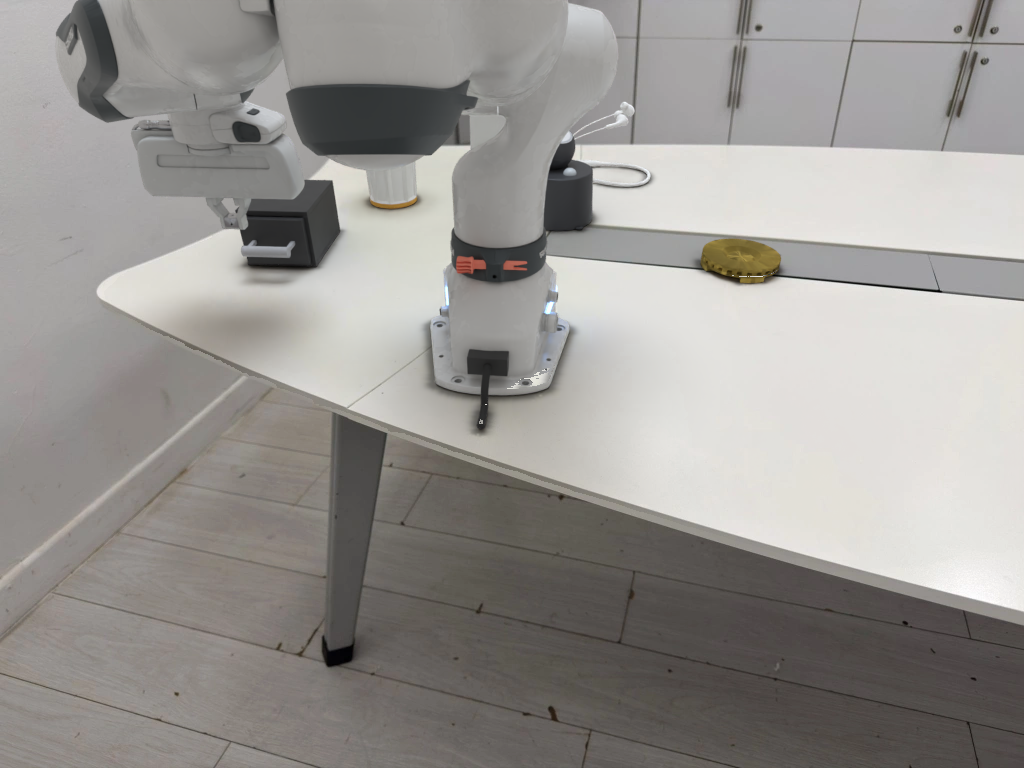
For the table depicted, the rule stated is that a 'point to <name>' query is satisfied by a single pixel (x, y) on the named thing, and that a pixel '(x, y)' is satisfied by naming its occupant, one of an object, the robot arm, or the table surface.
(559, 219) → the light fixture
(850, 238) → the table surface
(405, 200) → the cup
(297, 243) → the drawer
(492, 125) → the milk carton
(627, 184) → the earphone
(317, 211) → the cabinet
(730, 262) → the compass
